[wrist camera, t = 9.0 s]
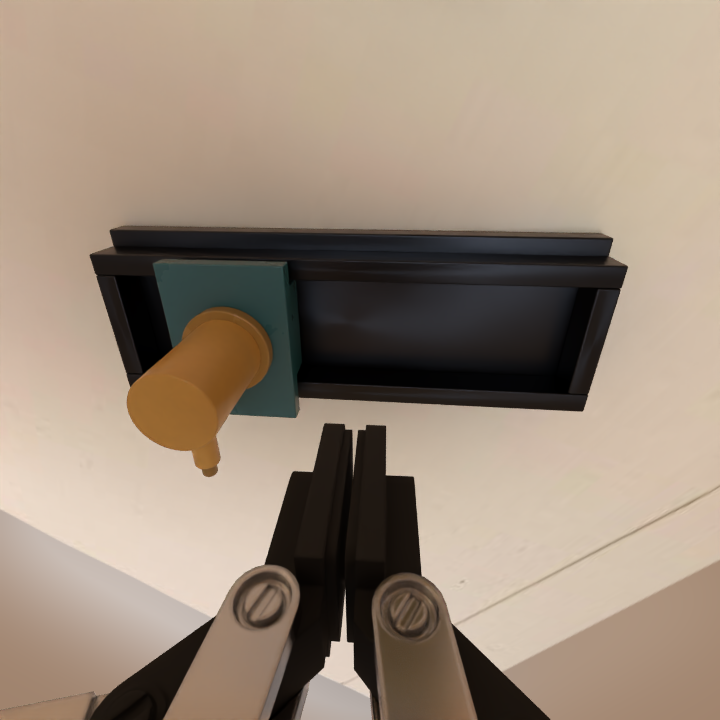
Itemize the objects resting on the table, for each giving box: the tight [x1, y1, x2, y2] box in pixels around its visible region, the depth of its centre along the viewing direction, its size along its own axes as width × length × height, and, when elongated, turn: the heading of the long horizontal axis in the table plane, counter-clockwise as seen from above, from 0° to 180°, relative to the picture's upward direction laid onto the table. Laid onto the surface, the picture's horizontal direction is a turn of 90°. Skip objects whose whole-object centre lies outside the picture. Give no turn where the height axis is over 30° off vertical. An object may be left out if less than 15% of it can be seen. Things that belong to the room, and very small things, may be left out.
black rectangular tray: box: [90, 226, 628, 411], centre depth 21 cm, size 24×9×3 cm, turn 90°
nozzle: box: [127, 259, 302, 477], centre depth 17 cm, size 6×8×8 cm
